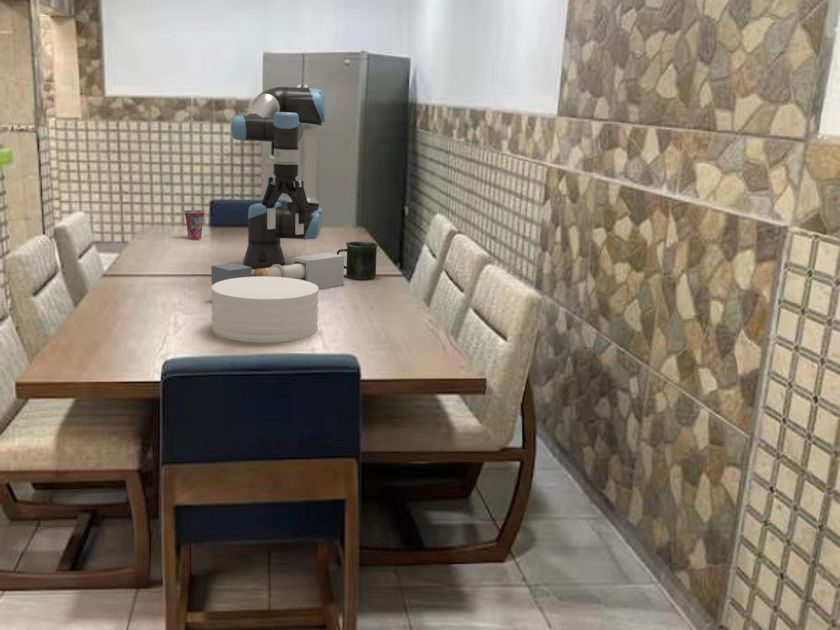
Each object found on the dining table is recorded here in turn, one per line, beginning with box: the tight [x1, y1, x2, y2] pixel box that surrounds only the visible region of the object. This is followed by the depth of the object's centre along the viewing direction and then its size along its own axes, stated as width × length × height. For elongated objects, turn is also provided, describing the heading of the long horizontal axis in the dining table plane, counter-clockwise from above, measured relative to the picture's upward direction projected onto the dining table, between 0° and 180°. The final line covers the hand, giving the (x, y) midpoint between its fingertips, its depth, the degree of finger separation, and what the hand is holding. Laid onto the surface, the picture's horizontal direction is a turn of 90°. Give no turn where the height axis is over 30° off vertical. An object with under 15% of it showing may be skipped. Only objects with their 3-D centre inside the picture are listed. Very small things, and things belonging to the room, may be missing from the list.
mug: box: [336, 241, 379, 281], centre depth 296 cm, size 11×15×12 cm
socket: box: [211, 262, 253, 296], centre depth 253 cm, size 8×9×10 cm
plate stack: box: [210, 276, 320, 343], centre depth 225 cm, size 28×28×12 cm
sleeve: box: [291, 252, 345, 290], centre depth 279 cm, size 16×8×10 cm, turn 139°
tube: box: [252, 263, 306, 279], centre depth 272 cm, size 32×7×7 cm, turn 139°
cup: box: [183, 209, 206, 241], centre depth 359 cm, size 9×8×12 cm
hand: (285, 231), depth 265 cm, fingers open, 13 cm apart
